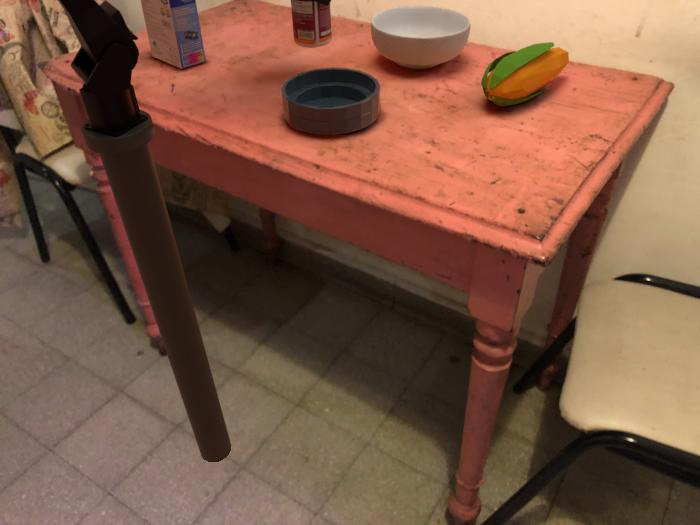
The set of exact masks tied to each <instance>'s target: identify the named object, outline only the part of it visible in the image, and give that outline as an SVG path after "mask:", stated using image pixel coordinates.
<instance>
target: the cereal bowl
mask: <svg viewBox="0 0 700 525" xmlns="http://www.w3.org/2000/svg"><path fill="white" fill-rule="evenodd" d="M471 25H472V24H471V19H470V18H469V17H468V16H467V15H465V14H464V13H462V12H460V11H458V10H454V9H450V8H447V7H439V6H433V5H402V6H396V7H390V8H387V9H384V10H381V11H379V12H377V13H376V14H374V15H373V16H372V18H371V22H370V35H371V40H372V44H373V46H374V47H375V49H376V50H377V52H378V53H379V54H380V55H382V56H383V57H384V58H386V59H388V60H390V62H391V61H392V62H395V63H396V64H397V65H399V66H401V67H403V68H406V69H409V70H410V69H411V70H426V69H431V68H434V67H438V65H440V64H444V63H447V62H449V61H451V60H452V59H455V58H456V57H457V56H458V55H460V54H461V53H462V52H463V50H464V49H465V47H466V46H467V43H468V41H469V37H470V33H471Z"/></svg>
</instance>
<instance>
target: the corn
mask: <svg viewBox="0 0 700 525" xmlns="http://www.w3.org/2000/svg"><path fill="white" fill-rule="evenodd" d="M569 63H570V55H569V51H567V50H565V49H564V48H562V47H560V46H558V47H555V42H553V41H552V42H550V41H549V42H540V43H534V44H531V45H528V46H525V47H522V48H520V49H518V50H516V51H510V52H505V53H504V54H501V55H500V56H498V57H496V58H495V59H494V60H493V61H491V62H490V63H489V64H488V65H487V67H486V69H485V70H484V73H483V75H482V78H481V81H480V82H481V83H480V85H481V86H482V91H483V93H484V96H485V98H486V100H487V102H488V103H493V104H494V105H497V106H499V107H506V106H507V107H508V106H513V105H517V104H521V103H525V102H526V101H529V100H531V99H533V98H535V97H538V96H539V95H540V94H542V93H543V92H545V91H547V90H548V89H549V88H551V87H553V84H551V85H550V86H547V85H548V84H549V83H551V82H552V81H553V80H555V79H556V78H557V77H558V76H559V75H560V74H561V73H562V71H563V70H564V69H565V67H567V65H568V64H569ZM545 86H547V87H545Z"/></svg>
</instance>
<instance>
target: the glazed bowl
mask: <svg viewBox="0 0 700 525" xmlns="http://www.w3.org/2000/svg"><path fill="white" fill-rule="evenodd" d="M280 95H281V104H282V113H283V118H284V121H285V122H286V123H287V124H288V125H289V126H290V127H292V128H294V129H296V130H298V131H300V132H305V133H309V134H312V135H331V136H333V135H341V134H342V135H343V134H348V133H352V132H356V131H359V130H363V129H364V128H366V127H368V126H371V125H372V124H373V123H374V122H375V121H376V120H377V119H378V118H379V115H380V112H381V84H380V82H379V81H378V79H377V78H376V77H374V76H373V75H371V74H370V73H368V72H364V71H362V70H360V69H353V68H347V67H324V68H315V69H310V70H306V71H302V72H301V73H297V74H295V75H292V76H290V77H289V78H288V79H287V80H285V81H284V82H283V83H282V85H281V87H280Z"/></svg>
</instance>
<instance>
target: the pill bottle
mask: <svg viewBox="0 0 700 525" xmlns="http://www.w3.org/2000/svg"><path fill="white" fill-rule="evenodd" d="M290 11H291V19H292V20H291V21H292V33H293V41H294V43H295V44H296V45H297V46H299V47H302V48H307V49H308V48H309V49H312V48H313V49H314V48H321V47H325V46H327V45H328V44H330V43H331V42H332V40H333V38H332V35H333V34H332V32H333V31H332V14H331V2H330V3H329V5H328V6H327V5H324V4H321V3H318V2H315V1H312V0H290Z"/></svg>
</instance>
